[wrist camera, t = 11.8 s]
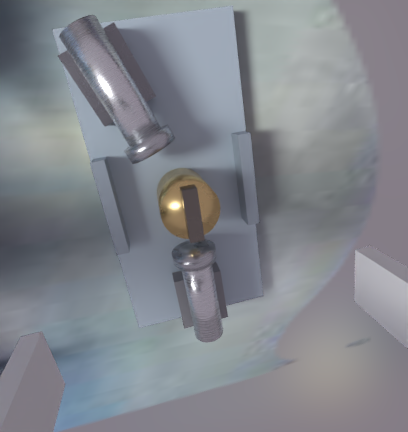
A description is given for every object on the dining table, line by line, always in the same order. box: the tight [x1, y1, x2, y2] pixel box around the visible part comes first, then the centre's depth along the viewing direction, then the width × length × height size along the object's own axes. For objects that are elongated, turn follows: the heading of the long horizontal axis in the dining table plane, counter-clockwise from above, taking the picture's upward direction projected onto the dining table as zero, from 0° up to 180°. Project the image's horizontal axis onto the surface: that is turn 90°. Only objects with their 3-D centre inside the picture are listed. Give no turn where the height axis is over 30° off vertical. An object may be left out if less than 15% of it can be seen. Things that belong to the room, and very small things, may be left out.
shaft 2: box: [172, 239, 223, 342], centre depth 31 cm, size 4×10×4 cm, turn 9°
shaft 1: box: [58, 15, 175, 164], centre depth 24 cm, size 5×10×6 cm, turn 29°
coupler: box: [157, 168, 220, 243], centre depth 27 cm, size 5×5×7 cm
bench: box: [52, 6, 263, 328], centre depth 30 cm, size 15×30×4 cm, turn 9°
